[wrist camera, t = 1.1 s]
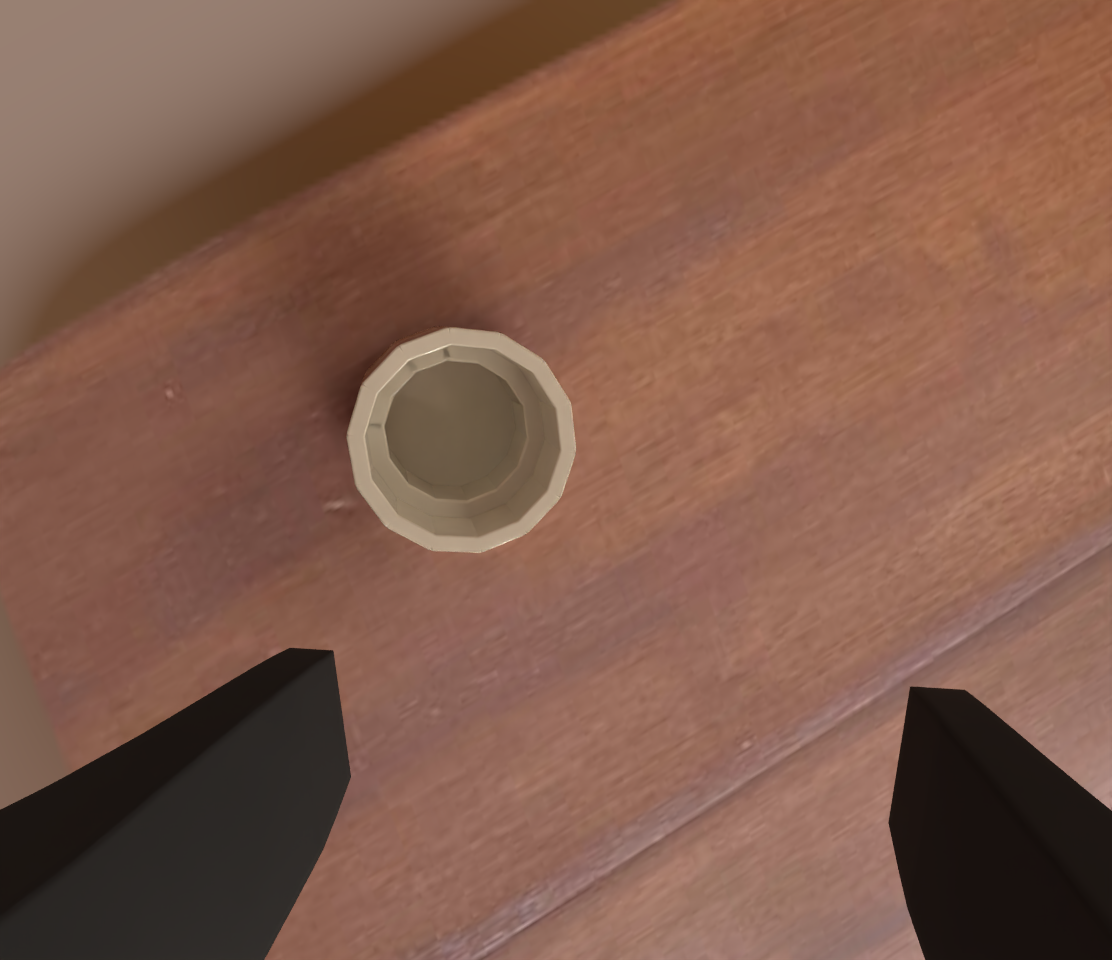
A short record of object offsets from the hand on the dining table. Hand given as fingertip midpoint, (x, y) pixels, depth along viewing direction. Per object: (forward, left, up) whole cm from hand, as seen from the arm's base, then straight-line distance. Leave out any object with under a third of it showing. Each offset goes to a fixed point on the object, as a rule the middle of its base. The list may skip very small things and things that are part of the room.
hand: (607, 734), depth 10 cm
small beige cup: (0, +2, -14) cm, 14 cm away
